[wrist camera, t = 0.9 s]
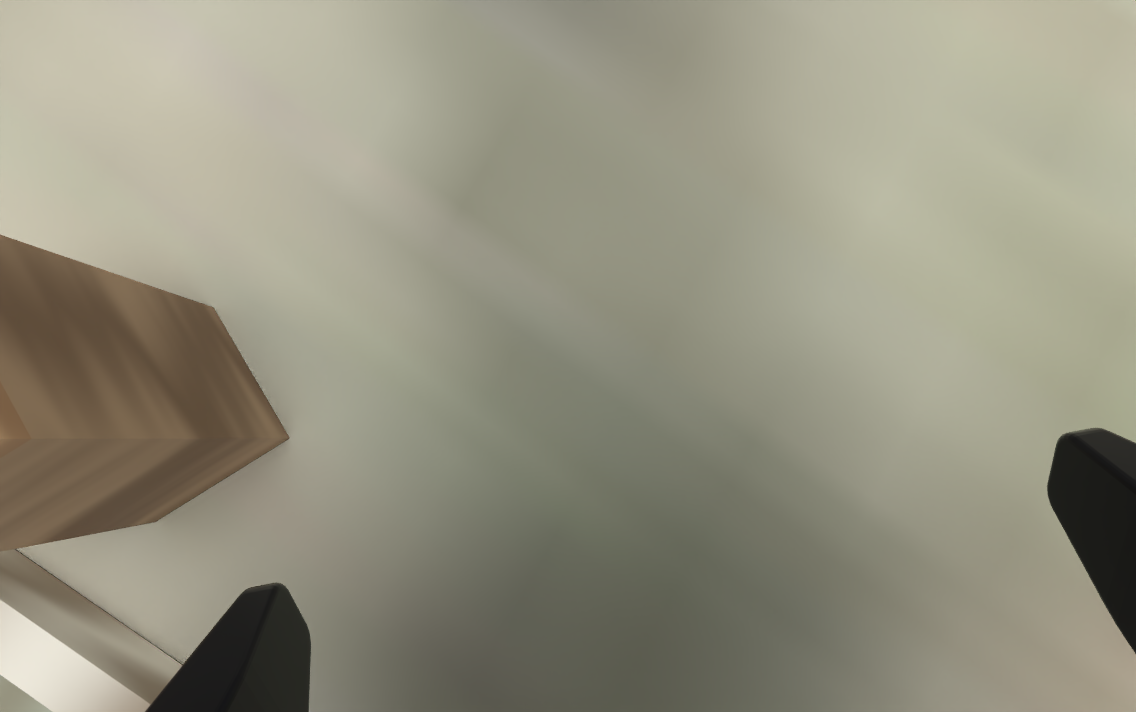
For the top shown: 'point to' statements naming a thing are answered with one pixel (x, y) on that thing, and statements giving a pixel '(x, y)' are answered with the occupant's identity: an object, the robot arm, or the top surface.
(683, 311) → the top surface
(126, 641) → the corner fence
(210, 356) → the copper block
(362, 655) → the top surface
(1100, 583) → the robot arm
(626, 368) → the top surface
